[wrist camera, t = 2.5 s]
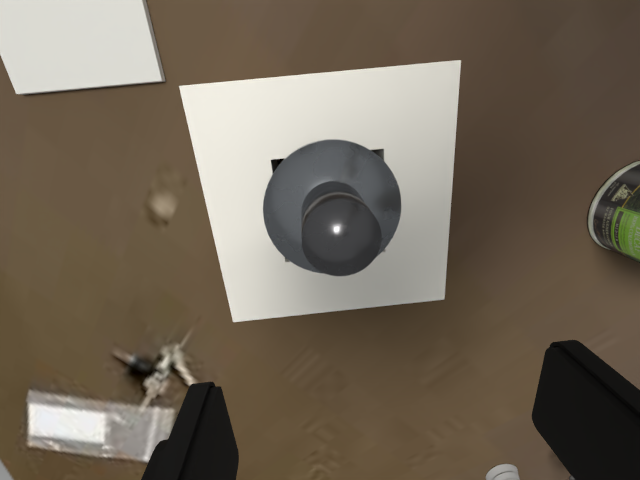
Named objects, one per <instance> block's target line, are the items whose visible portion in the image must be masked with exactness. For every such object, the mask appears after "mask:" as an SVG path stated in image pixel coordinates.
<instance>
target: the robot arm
mask: <svg viewBox="0 0 640 480" xmlns="http://www.w3.org/2000/svg"><path fill="white" fill-rule="evenodd" d="M532 420H533V423H534V425H535V427H536V429H537V430H538V432H539V433H540V434H541V436H542V437H543V438H544V440H545V441H546V442H547V443H548V445H549V446H550V447H551V449H552V450H553V451H554V453H555V454H556V455H557V457H558V458H559V459H560V461H561V462H562V463H563V465H564V466H565V467H566V469H567V470H568V471H569V473H570V474H571V475H572V476H573V478H574V479H575V480H640V390H639V389H638V388H636V387H635V386H634V385H633V384H631V383H630V382H629V381H628V380H626V379H625V378H624V377H623V376H621V375H620V374H619V373H618V372H616V371H615V370H614V369H613V368H611V367H610V366H609V365H608V364H607V363H605V362H604V361H603V360H602V359H600V358H599V357H598V356H597V355H595V354H594V353H593V352H592V351H590V350H589V349H588V348H587V347H585V346H584V345H583V344H582V343H580V342H579V341H576V340H568V341H560V342H553V343H552V344H551V345H550V347H549V348H548V349H547V350H546V352H545V356H544V361H543V365H542V370H541V375H540V379H539V384H538V389H537V393H536V398H535V403H534V407H533V412H532ZM238 460H239V455H238V449H237V445H236V441H235V437H234V434H233V430H232V426H231V422H230V419H229V415H228V411H227V407H226V404H225V400H224V396H223V392H222V389H221V387H220V386H219V387H215V384H214V383H213V382H205V383H197V384H192V385H191V386H190V387H189V389H188V392H187V394H186V397H185V399H184V402H183V404H182V407H181V409H180V412H179V414H178V417H177V419H176V422H175V424H174V426H173V429H172V431H171V434H170V436H169V439H168V440H163V441H160V442H159V443H158V445H157V446H156V448H155V449H154V451H153V453H152V456H151V458H150V460H149V463H148V465H147V467H146V470H145V472H144V474H143V477H142V479H141V480H236V475H237V469H238Z"/></svg>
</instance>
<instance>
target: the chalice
mask: <svg viewBox="0 0 640 480" xmlns="http://www.w3.org/2000/svg"><path fill="white" fill-rule="evenodd" d="M486 480H519V475H518V470H517V468H516V467H515V466H514V465H511V464H502V465H498V466H496V467H494V468H492V469H491V470H490V471H489V472H488V473H487V475H486Z"/></svg>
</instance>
